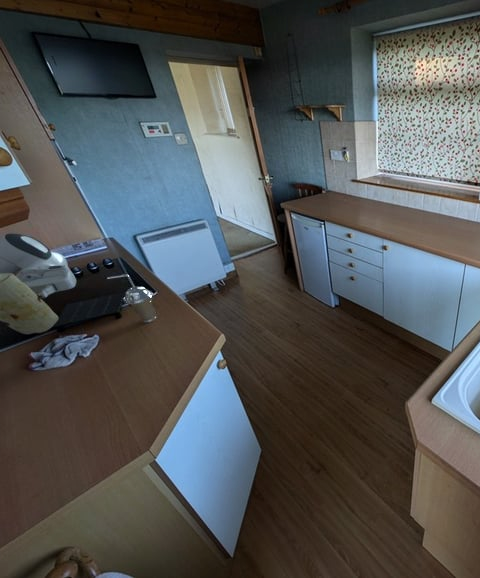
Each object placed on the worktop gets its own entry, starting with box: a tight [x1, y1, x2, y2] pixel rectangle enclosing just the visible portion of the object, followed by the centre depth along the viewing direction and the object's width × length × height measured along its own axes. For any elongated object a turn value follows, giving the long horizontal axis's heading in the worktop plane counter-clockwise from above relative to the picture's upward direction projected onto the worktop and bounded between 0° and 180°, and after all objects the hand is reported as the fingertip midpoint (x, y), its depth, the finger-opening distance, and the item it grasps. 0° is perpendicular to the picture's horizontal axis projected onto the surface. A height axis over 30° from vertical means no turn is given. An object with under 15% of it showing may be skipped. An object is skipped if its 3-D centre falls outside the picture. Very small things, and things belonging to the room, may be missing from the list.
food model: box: [0, 273, 59, 335], centre depth 84 cm, size 10×7×20 cm
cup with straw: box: [106, 274, 158, 324], centre depth 105 cm, size 8×9×20 cm
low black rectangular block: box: [52, 291, 126, 334], centre depth 112 cm, size 18×16×3 cm
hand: (19, 299), depth 85 cm, fingers closed on food model, 8 cm apart
